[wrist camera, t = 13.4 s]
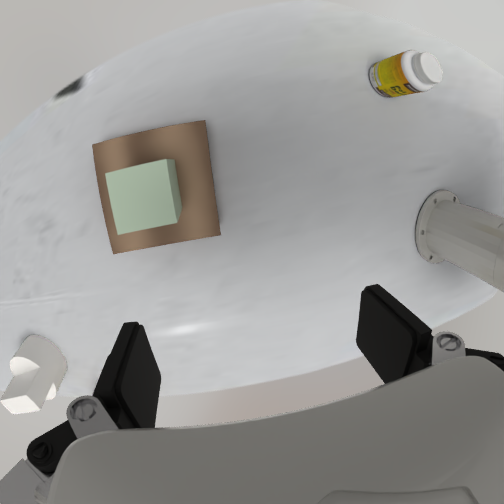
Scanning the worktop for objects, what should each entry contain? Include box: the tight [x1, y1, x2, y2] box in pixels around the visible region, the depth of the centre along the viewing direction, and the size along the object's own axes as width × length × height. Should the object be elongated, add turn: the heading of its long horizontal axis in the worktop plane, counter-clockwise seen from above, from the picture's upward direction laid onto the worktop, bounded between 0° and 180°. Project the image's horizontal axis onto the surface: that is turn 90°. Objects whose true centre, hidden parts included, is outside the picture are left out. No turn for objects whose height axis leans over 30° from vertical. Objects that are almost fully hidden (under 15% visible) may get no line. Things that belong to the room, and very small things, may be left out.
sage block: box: [105, 159, 182, 235], centre depth 23 cm, size 5×5×7 cm
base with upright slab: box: [0, 335, 67, 414], centre depth 28 cm, size 9×9×12 cm
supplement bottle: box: [369, 50, 443, 98], centre depth 25 cm, size 6×6×10 cm
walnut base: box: [92, 120, 221, 254], centre depth 28 cm, size 12×12×4 cm
